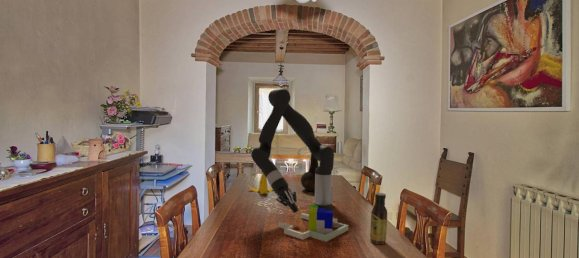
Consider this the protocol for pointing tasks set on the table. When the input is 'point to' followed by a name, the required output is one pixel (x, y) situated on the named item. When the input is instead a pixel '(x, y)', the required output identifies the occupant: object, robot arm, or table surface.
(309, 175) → the glass bottle
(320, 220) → the puzzle toy
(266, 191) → the banana peel
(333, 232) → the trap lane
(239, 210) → the table surface
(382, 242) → the sauce bottle
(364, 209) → the table surface
